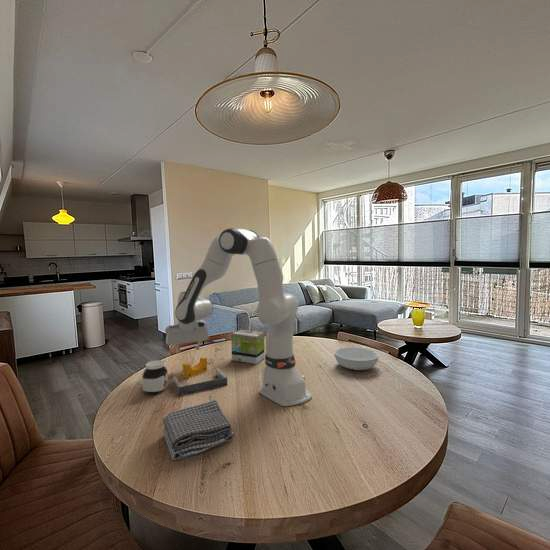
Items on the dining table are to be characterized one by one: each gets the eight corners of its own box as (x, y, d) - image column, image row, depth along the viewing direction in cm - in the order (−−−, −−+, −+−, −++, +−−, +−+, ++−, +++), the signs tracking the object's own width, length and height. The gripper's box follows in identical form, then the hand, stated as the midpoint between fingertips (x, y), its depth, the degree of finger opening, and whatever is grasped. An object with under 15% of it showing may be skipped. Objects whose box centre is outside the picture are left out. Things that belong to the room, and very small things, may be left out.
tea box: (231, 361, 156) (230, 333, 155) (240, 355, 165) (240, 329, 164) (256, 364, 150) (256, 336, 149) (265, 358, 160) (264, 331, 159)
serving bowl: (387, 368, 143) (387, 354, 143) (358, 379, 132) (358, 363, 131) (353, 356, 160) (353, 344, 160) (325, 365, 149) (325, 351, 148)
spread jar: (157, 397, 117) (155, 368, 116) (131, 394, 119) (130, 366, 118) (173, 384, 128) (172, 357, 128) (149, 382, 131) (148, 356, 130)
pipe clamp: (201, 368, 146) (200, 356, 146) (207, 370, 144) (206, 357, 143) (180, 377, 136) (180, 363, 136) (186, 379, 134) (186, 365, 134)
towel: (162, 436, 92) (161, 411, 91) (218, 419, 101) (218, 396, 100) (172, 465, 79) (171, 437, 78) (236, 443, 88) (235, 417, 87)
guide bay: (227, 384, 127) (227, 377, 127) (179, 395, 118) (178, 388, 118) (218, 374, 139) (217, 368, 138) (173, 383, 129) (173, 376, 129)
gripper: (166, 327, 138) (166, 356, 139) (209, 322, 148) (209, 349, 149) (164, 324, 144) (164, 352, 145) (206, 320, 153) (206, 346, 154)
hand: (188, 351), depth 147 cm, fingers open, 8 cm apart
